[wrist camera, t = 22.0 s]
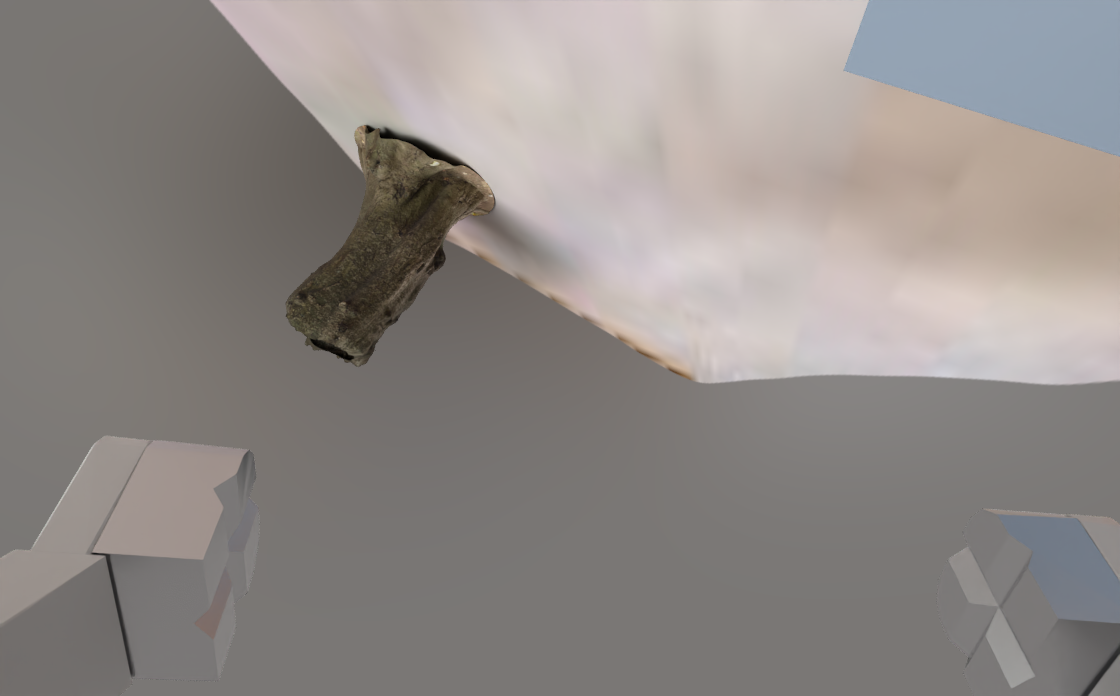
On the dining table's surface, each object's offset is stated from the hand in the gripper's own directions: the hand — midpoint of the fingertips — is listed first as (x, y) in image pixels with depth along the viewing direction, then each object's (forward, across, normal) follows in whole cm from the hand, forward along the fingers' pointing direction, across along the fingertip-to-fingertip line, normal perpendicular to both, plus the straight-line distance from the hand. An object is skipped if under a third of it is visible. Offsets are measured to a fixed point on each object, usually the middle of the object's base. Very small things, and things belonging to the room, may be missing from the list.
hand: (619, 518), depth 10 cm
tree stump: (+49, -6, -18) cm, 52 cm away
